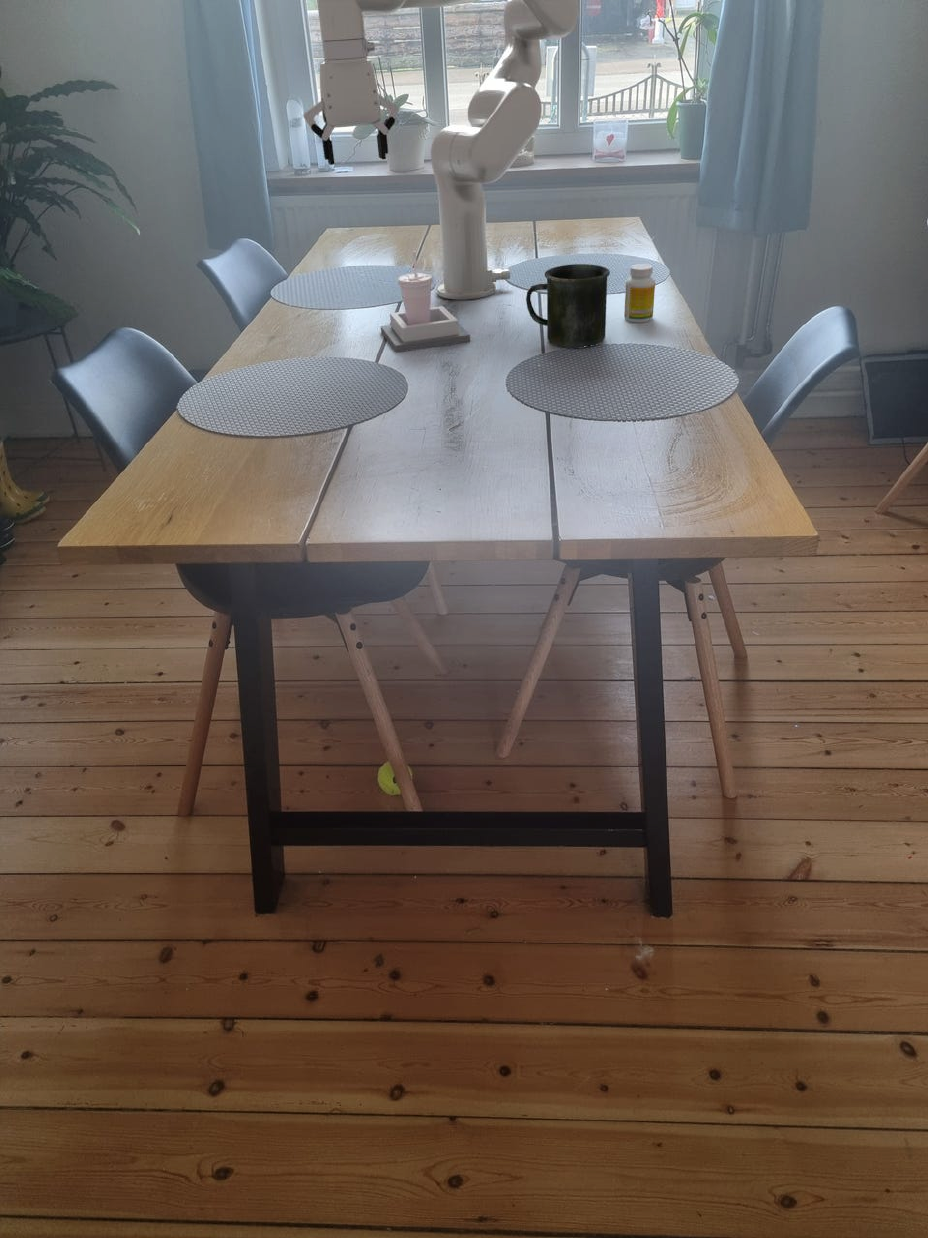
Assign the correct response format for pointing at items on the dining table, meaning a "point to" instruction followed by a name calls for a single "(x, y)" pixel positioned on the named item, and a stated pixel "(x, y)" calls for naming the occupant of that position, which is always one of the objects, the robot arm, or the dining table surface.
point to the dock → (424, 331)
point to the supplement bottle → (639, 294)
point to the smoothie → (416, 295)
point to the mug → (574, 305)
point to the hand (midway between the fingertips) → (357, 160)
